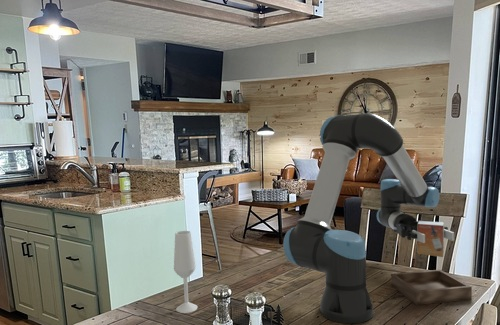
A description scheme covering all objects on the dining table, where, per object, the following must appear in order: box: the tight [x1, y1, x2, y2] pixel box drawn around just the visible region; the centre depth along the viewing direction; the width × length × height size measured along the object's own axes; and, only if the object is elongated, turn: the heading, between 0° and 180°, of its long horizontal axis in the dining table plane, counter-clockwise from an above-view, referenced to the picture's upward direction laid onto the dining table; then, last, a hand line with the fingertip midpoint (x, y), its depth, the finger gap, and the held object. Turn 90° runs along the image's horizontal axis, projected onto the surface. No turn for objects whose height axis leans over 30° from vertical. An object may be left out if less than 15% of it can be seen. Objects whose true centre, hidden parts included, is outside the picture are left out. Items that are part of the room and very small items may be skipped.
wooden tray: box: [390, 269, 473, 306], centre depth 129 cm, size 18×16×4 cm
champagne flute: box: [173, 230, 199, 314], centre depth 123 cm, size 7×7×24 cm
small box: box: [416, 220, 445, 258], centre depth 133 cm, size 8×6×10 cm
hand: (438, 237), depth 128 cm, fingers closed on small box, 9 cm apart
